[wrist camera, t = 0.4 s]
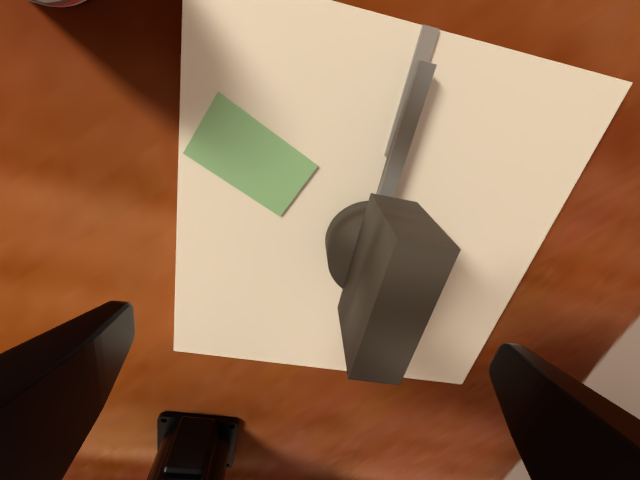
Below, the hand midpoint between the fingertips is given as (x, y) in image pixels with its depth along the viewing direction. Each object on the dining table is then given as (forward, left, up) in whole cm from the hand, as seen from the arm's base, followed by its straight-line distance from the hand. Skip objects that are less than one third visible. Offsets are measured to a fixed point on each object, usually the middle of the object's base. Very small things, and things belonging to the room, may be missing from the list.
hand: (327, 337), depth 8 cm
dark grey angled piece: (+1, -4, -11) cm, 12 cm away
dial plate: (-2, -4, -13) cm, 13 cm away
